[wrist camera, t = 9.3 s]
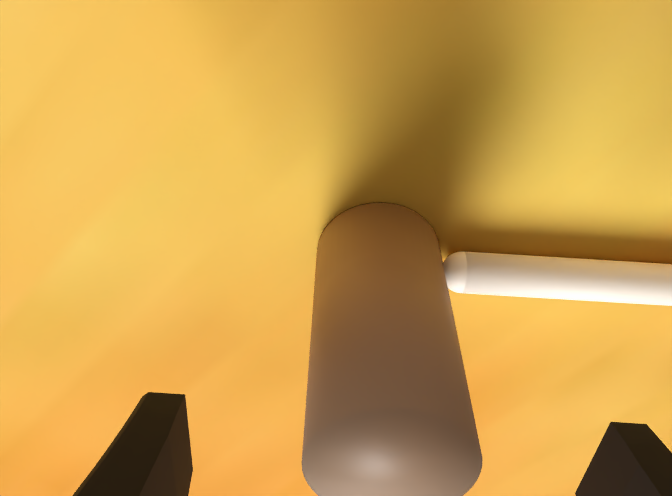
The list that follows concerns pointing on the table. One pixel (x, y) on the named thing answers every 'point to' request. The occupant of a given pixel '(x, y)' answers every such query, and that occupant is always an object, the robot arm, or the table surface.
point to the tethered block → (417, 348)
